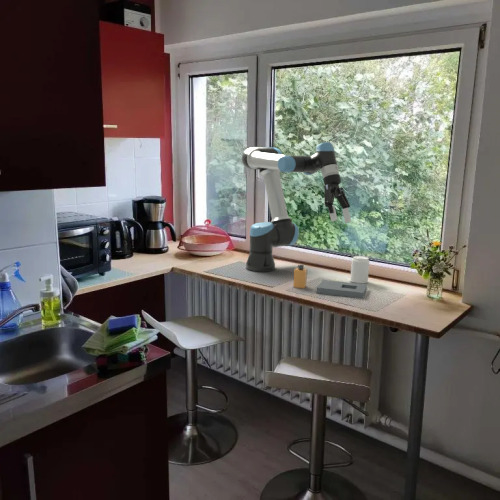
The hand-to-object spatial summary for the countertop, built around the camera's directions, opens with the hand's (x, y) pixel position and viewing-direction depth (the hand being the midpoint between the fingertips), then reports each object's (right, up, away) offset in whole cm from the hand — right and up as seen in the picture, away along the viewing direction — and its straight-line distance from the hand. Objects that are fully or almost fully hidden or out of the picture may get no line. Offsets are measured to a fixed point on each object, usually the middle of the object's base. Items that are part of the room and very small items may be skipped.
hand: (341, 221), depth 222 cm
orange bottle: (-18, -29, +4) cm, 35 cm away
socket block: (0, -31, -2) cm, 31 cm away
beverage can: (+11, -28, +14) cm, 33 cm away
